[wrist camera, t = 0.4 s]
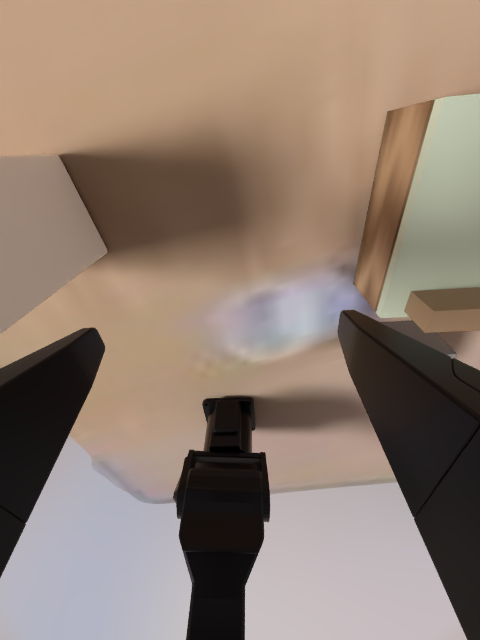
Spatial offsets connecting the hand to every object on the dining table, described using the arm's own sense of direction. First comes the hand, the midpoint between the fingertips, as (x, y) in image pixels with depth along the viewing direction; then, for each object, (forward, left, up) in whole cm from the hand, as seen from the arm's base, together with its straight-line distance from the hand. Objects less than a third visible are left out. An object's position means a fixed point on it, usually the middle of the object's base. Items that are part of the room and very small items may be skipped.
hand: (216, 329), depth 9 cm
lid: (+1, -15, -8) cm, 18 cm away
